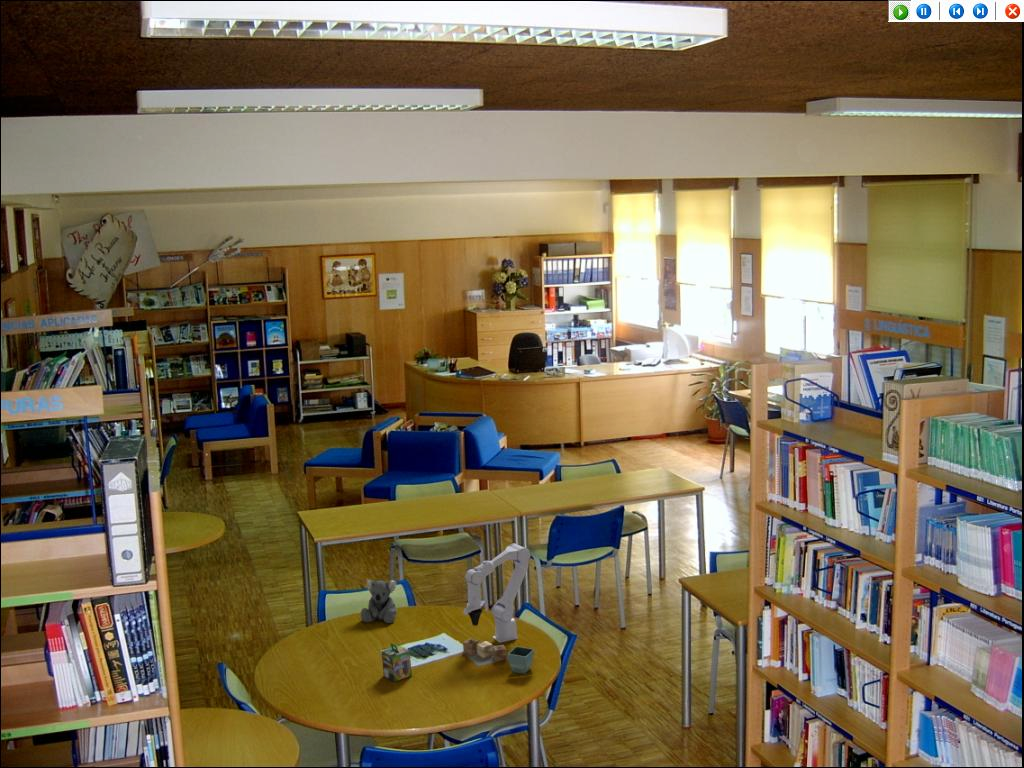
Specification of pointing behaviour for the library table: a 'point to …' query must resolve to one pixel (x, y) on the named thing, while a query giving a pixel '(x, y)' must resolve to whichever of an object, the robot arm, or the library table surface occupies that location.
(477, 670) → the library table surface
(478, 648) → the plain block
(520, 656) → the flower pot
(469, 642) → the pip block two
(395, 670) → the green printed carry box
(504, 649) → the pip block one
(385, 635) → the library table surface
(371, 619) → the koala plush
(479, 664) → the felt mat
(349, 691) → the library table surface
